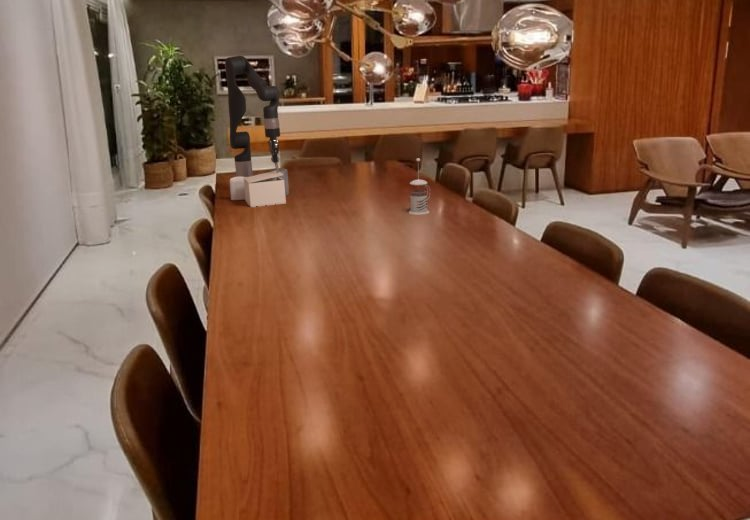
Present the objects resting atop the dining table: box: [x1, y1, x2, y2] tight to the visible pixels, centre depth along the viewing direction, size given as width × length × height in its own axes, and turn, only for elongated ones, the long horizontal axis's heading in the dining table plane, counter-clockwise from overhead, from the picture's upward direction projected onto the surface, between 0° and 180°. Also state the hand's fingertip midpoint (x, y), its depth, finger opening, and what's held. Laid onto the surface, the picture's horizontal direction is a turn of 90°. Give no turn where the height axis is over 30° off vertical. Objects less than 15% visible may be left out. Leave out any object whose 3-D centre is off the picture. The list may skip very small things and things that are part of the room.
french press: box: [408, 157, 431, 216], centre depth 292 cm, size 10×12×25 cm
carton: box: [244, 176, 287, 208], centre depth 328 cm, size 14×18×12 cm
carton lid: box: [243, 155, 283, 183], centre depth 324 cm, size 14×19×10 cm
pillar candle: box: [269, 167, 290, 197], centre depth 347 cm, size 10×10×15 cm
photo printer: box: [229, 176, 246, 201], centre depth 338 cm, size 10×4×12 cm, turn 98°
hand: (275, 161), depth 325 cm, fingers closed
